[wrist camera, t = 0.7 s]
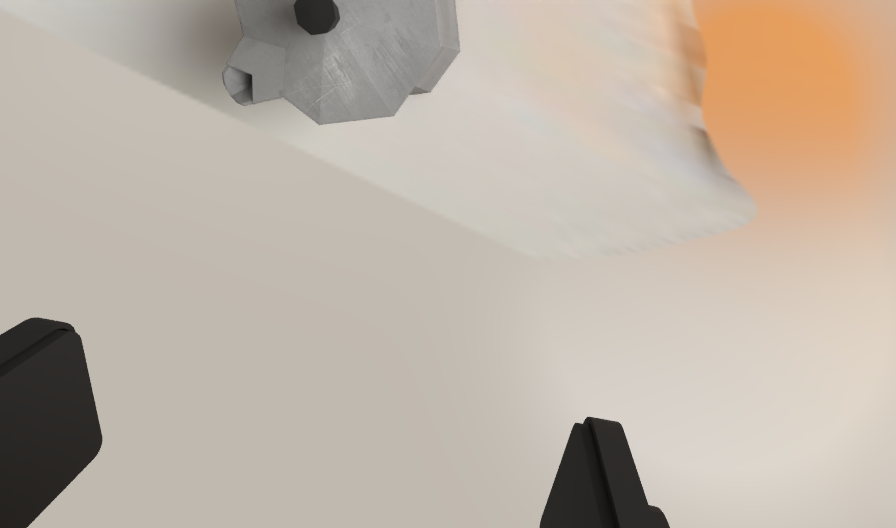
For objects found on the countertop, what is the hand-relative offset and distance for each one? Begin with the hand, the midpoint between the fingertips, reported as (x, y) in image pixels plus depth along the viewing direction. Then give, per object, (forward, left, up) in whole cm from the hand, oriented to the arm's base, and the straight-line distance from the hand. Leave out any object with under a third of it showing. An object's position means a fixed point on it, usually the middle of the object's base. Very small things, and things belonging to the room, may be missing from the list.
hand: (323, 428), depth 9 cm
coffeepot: (-8, -4, -31) cm, 32 cm away
